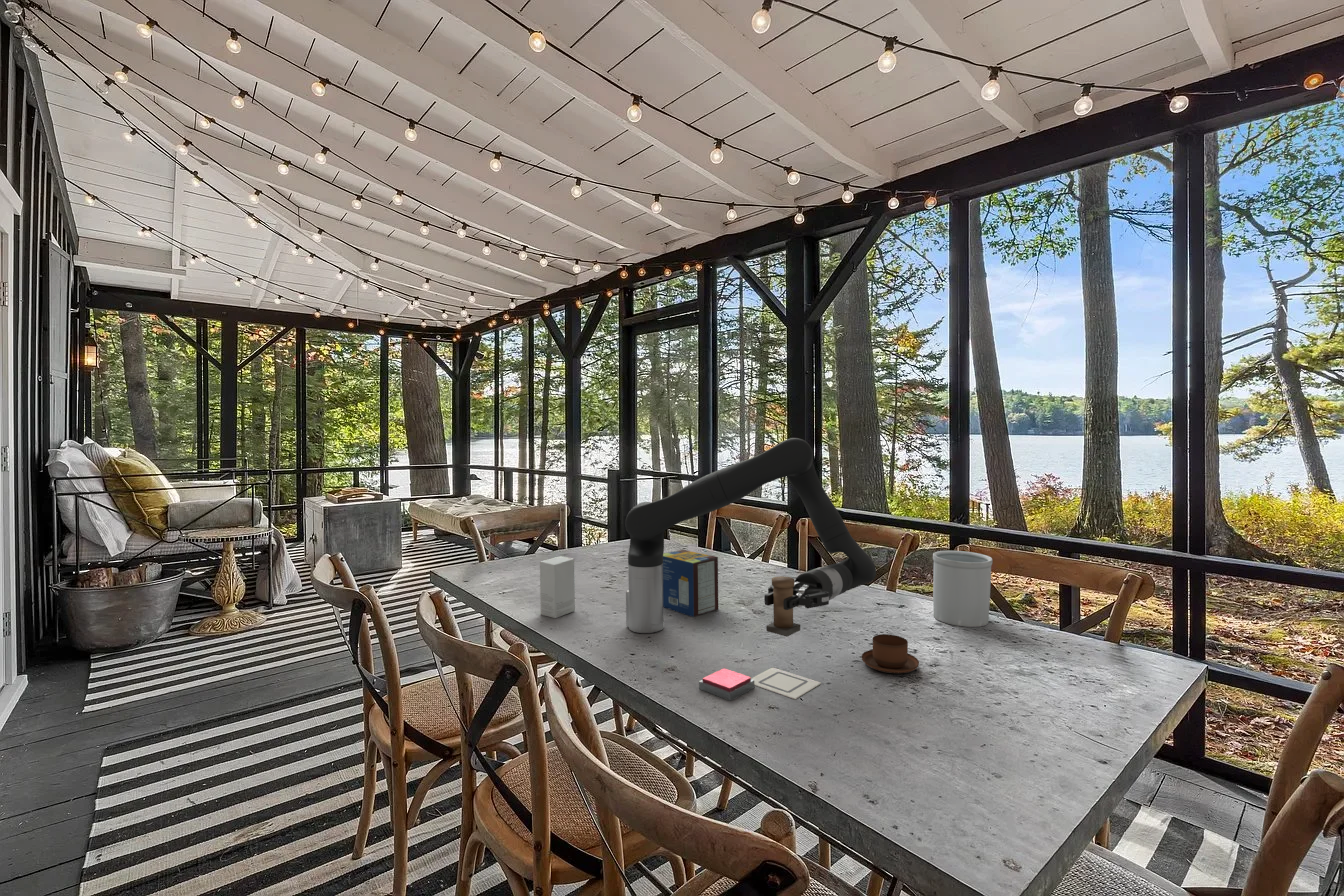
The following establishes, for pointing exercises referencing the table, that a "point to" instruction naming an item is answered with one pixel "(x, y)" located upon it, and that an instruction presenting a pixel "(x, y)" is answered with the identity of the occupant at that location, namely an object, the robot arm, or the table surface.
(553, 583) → the skincare box
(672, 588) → the protein box
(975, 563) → the utensil holder
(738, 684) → the ink pad
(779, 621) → the stamp
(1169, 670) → the table surface
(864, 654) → the cup and saucer
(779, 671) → the sheet
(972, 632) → the table surface
